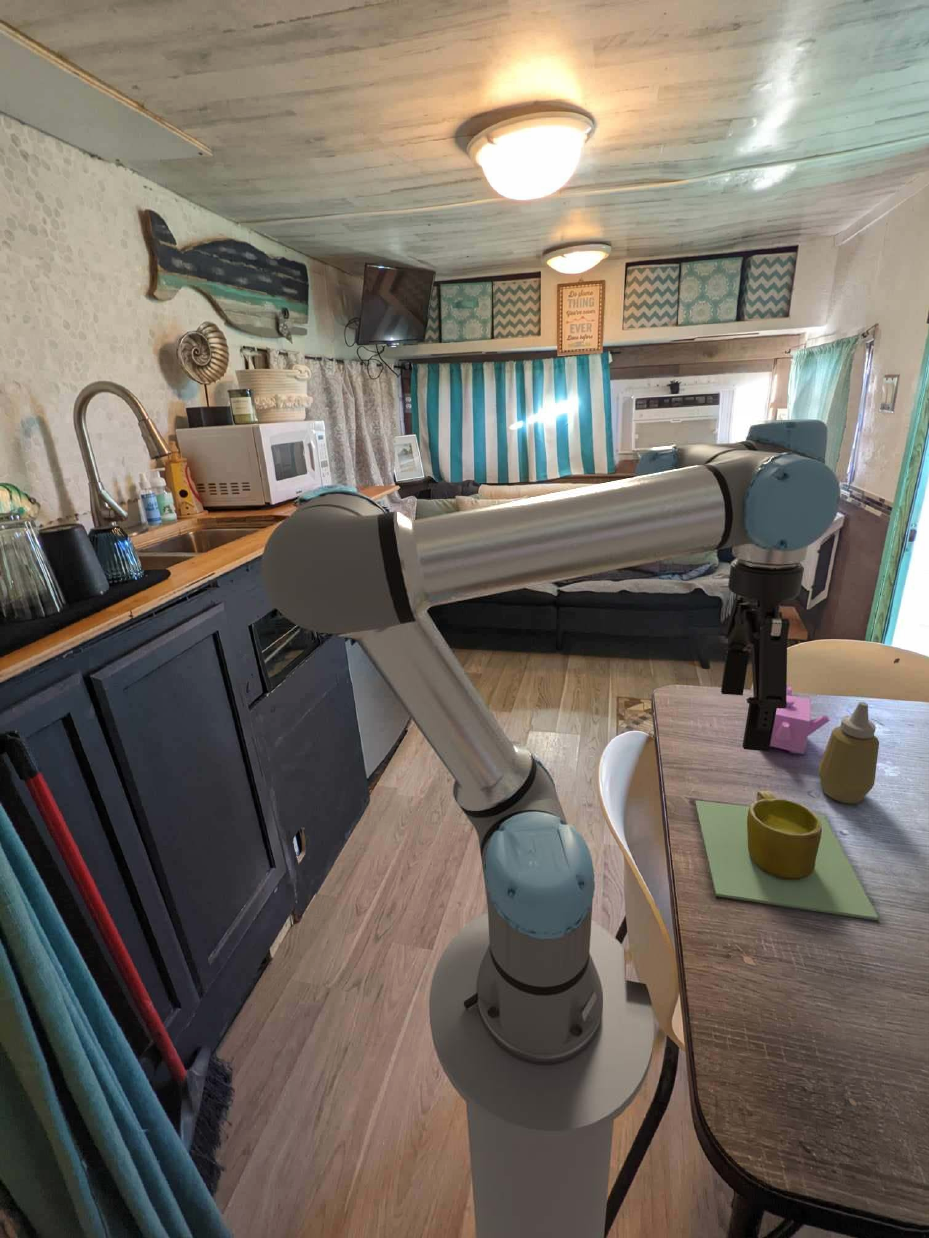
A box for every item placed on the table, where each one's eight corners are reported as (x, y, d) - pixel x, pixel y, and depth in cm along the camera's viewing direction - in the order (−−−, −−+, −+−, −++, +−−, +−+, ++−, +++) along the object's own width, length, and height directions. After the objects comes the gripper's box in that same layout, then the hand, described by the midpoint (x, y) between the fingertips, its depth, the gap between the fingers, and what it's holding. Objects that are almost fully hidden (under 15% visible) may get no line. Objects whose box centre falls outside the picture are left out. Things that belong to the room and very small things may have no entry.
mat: (715, 896, 77) (716, 893, 77) (694, 802, 95) (695, 800, 95) (877, 920, 72) (878, 917, 72) (823, 817, 90) (824, 814, 90)
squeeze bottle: (811, 797, 95) (831, 707, 88) (817, 773, 101) (836, 687, 94) (868, 815, 90) (893, 722, 84) (870, 789, 96) (894, 699, 90)
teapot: (823, 776, 100) (833, 731, 96) (743, 757, 106) (750, 713, 103) (822, 728, 114) (831, 687, 111) (752, 714, 121) (758, 674, 117)
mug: (841, 888, 74) (824, 820, 74) (759, 891, 78) (742, 827, 78) (818, 839, 86) (802, 780, 85) (747, 845, 90) (732, 788, 89)
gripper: (847, 596, 51) (806, 782, 59) (773, 537, 74) (751, 676, 81) (759, 593, 53) (731, 774, 60) (713, 536, 75) (697, 673, 83)
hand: (742, 718), depth 71 cm, fingers open, 13 cm apart
